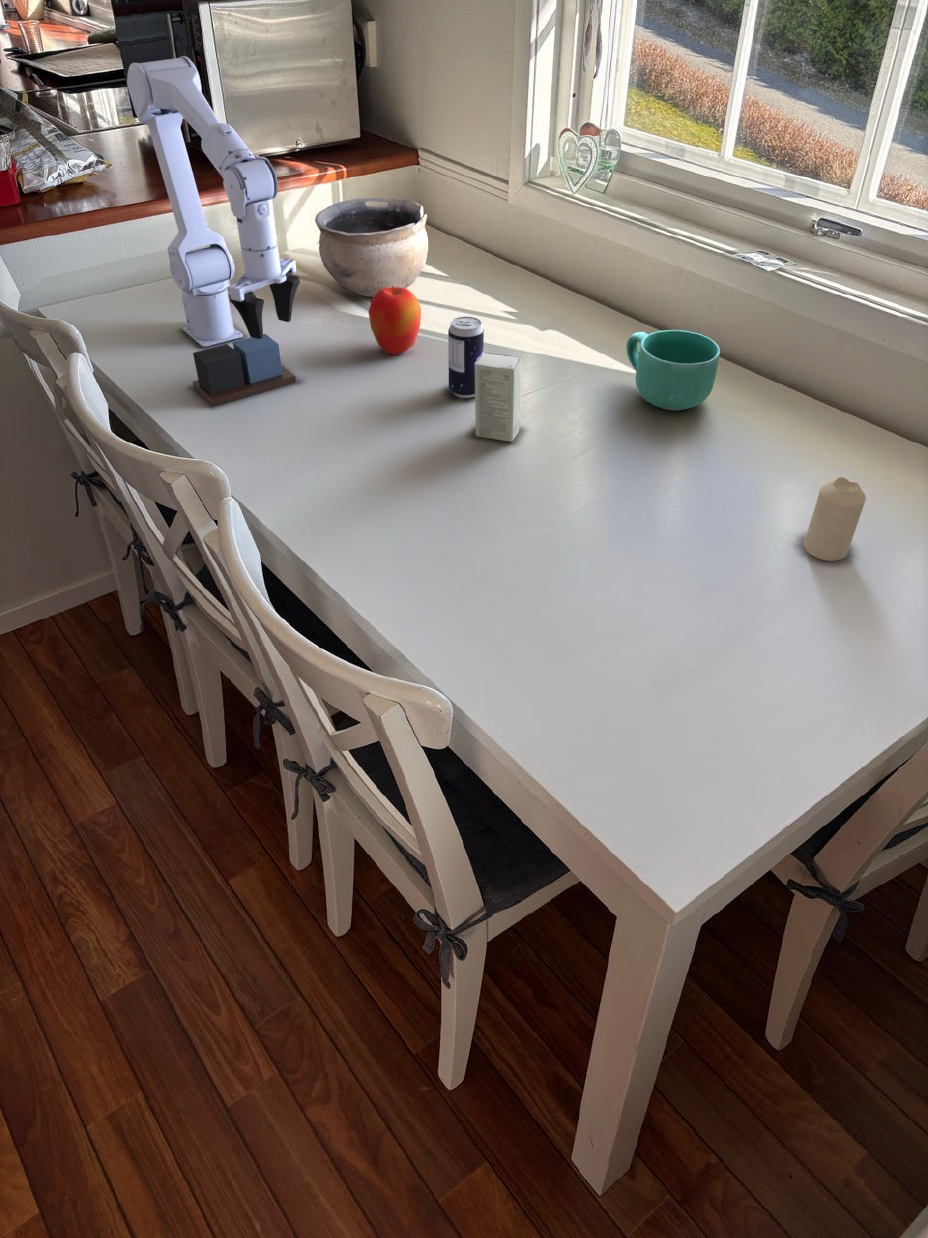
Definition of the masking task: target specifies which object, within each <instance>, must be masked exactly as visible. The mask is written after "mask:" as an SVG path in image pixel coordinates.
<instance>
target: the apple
mask: <svg viewBox="0 0 928 1238" xmlns="http://www.w3.org/2000/svg"><path fill="white" fill-rule="evenodd" d="M368 317H369V318H368V319H369V324H370V328H371V331H372V333H373V335H374V338H375V341H376V343H377V346H378V347H379V348H380V349H381V350H383V351H384V352H385V353H387V354H389V355H399V354H403V353H405V352H407V351H408V350H410V349H411V348H412V347H413V346H415V342H416V339H417V337H418V334H419V330H420V327H421V318H422V308H421V304H420V303H419V300H418V298H417V296H416V295H415V294H413V292H411V290H409V289H408V288H401V287H393V286H392V288H383V289H380V290H379V291H378V292H377V293H376V294H375V296H374V297H372V298H371V300H370V304H369V307H368Z"/></svg>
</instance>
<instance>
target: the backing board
mask: <svg viewBox="0 0 928 1238" xmlns="http://www.w3.org/2000/svg"><path fill="white" fill-rule="evenodd" d="M281 366H282V373H283V375H280V376H276V377H273V378H269V379H266V380H262V381H259V382H255V383H252V384H250V383H249V382H248V381H247V380H245V379H244V383H245V386H242V387H238V388H235V389H231V390H228V391H224V392H221V393H217V394H214V395H211V394H210V393H208V392H207V391H206V390H205V389H204V388H203V387H202V386H201V385H200V384H199V381H198V379H197V380H193V381H192V385H193V389H195V390H196V391H197V393H199V394H200V395H201V396H202V397H203V398H204V399H205V400H207V402H208V403H209V404H211V406H212V407H216V406H220V405H224V404H227V403H230V402H235V401H237V400H241V399H243V398H247V397H251V396H255V395H256V394H261V393H265V392H267V391H271V390H274V389H279V388H281V387H284V386H287V385H291V384H294V383H296V382H297V381H296V375H295V374H294V373H292V372H291V371H290V370H288V369H287V368H286V367H285V366H284V365H282V364H281Z"/></svg>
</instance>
